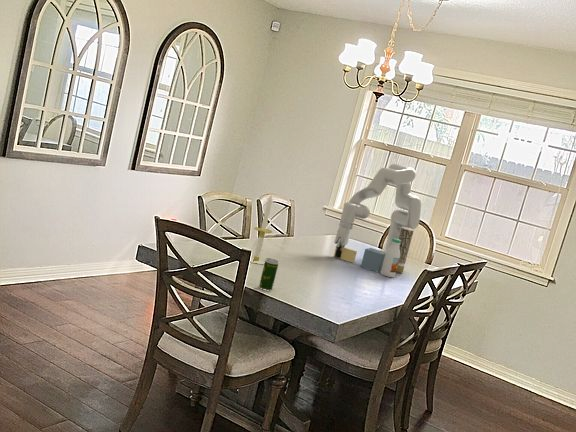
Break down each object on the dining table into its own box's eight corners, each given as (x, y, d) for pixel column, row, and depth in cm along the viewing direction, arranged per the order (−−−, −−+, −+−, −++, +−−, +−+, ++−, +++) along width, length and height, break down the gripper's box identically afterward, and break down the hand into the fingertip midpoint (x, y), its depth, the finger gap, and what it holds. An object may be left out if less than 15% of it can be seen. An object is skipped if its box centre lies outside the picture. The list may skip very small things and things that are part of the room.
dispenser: (366, 265, 372) (370, 247, 371) (383, 270, 368) (387, 253, 367) (360, 266, 364) (365, 248, 362) (377, 272, 360) (382, 254, 358)
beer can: (271, 288, 270) (278, 259, 268) (272, 292, 264) (279, 262, 263) (258, 285, 269) (265, 257, 267) (259, 289, 264) (266, 260, 262)
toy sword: (242, 260, 310) (258, 191, 305) (248, 257, 319) (264, 190, 315) (262, 266, 307) (279, 196, 303) (268, 262, 317) (284, 195, 313)
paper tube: (402, 274, 371) (413, 230, 368) (390, 271, 372) (401, 227, 369) (402, 272, 377) (414, 229, 374) (390, 269, 379) (402, 226, 375)
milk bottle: (383, 276, 352) (393, 239, 350) (378, 272, 360) (387, 236, 357) (396, 278, 354) (406, 242, 352) (391, 274, 362) (400, 238, 359)
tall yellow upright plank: (334, 256, 376) (336, 245, 375) (354, 262, 371) (356, 251, 370) (333, 256, 375) (336, 245, 374) (353, 262, 370) (356, 251, 369)
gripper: (344, 222, 380) (336, 254, 383) (334, 223, 366) (326, 256, 369) (356, 226, 377) (348, 257, 380) (347, 227, 363) (339, 260, 366)
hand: (338, 256), depth 374 cm, fingers closed
